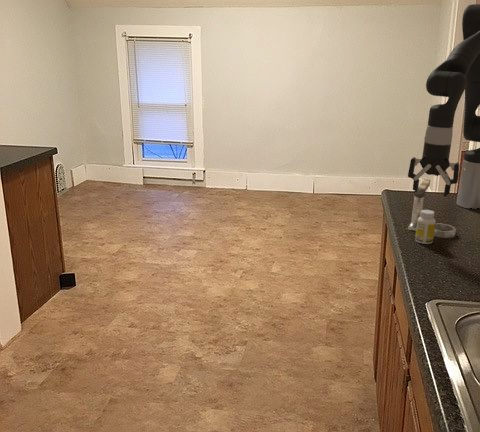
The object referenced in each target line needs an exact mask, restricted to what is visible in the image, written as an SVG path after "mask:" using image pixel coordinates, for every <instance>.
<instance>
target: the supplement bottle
mask: <svg viewBox="0 0 480 432" xmlns="http://www.w3.org/2000/svg"><path fill="white" fill-rule="evenodd" d="M434 217H435V211H434V210H430V209H422V211H421V217H419V218H418V220H417V228H416V231H415V238H414V240H415V242H416V243H419V244H423V245H430V244H432V243H433V242H434V237H435V236H434V231H435V223H436V222H437V221H436V219H435V218H434Z"/></svg>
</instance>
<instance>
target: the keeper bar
mask: <svg viewBox="0 0 480 432" xmlns="http://www.w3.org/2000/svg"><path fill="white" fill-rule="evenodd" d="M430 185H431V179H425V178H424V179H423V180H422V182H421V183H419V187H418V192H417V193H416V192H414V196H417V197H424V198H425V194H426V192H427V190H428V188H429V187H430ZM414 196H413V197H414Z"/></svg>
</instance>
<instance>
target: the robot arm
mask: <svg viewBox="0 0 480 432" xmlns="http://www.w3.org/2000/svg"><path fill="white" fill-rule="evenodd" d="M461 22H462V23H461V26H462V27H461V29H462V30H461V31H462V39H463V40H462V41H461V42H459V43H457V45H455V47H453V49H452V50H451V52H450V53H449V55H448V56H447V58H446V59H445V60H444V61H443V62H442V63H441V64H439V65H438V66H436V67H435V68H434V69H433V70H432V71H431V73H430V74H429V75H428V77H427V79H426V83H425V88H426V91H427V93H428V94H430V95H431V96H433V97H444V98H448V99H447V101H446V102H445V103H443V104H442V103H440V104H434V105H431V107H430V109H429V111H428V120H427V126H426V130H425V134H424V135H425V136H424V140H423V141H424V142H423V151H422V157H421V159H420V158H417V157H412V158H411V159H410V162H409V168H408V171H407V178H410V179H412V180H413V183H412V191H414V193H415V192H416V193H417V192H418V187H419V186H420V178H421V177H422V176H423V175H425V174H426V175H428V176H431V175H432V176H435V177H436V176H437V177H439V176H440V177H441V179H443V181H444V182H445V185H444V191H443V198H445V197H447V196H449V195H450V192H451V187H452V185H456V184H458V182H459V185H458V192H457V197H456V205H457V206H458V207H461V208H464V209H470V208H472V209H471V210H478V209H477V208H479V209H480V147H479V148H475V149H469V150H466V151H465V152H464V154H463V160H462V165H461V172H460V163H459V162H457V161H456V162H455V163H454V162H450V156H451V155H450V153H451V147H452V142H453V132H454V130H453V129H454V121H455V117H456V116H455V115H456V111H457V108H458V106H459V102H460V100H461V98H462V97H463V94H464V101H465V102H464V117H463V129H462V130H463V131H462V132H463V138H464V139H465V140H466V141H469V142H475V143H480V115H477V113H476V112H477V110H478V108H479V107H480V4H479V3H478V4H477V3H476V4H475V3H474V4H469V5H467V6H466V7H465V8H464V11H463V13H462V21H461ZM418 164H420V166H421V167H422V169H420V170H419V172H418V173H416V174H415V167H416V166H418ZM448 168H450V169H451V171H453V178H450V176H449V173H448V172H447V170H448ZM459 176H460V179H459Z"/></svg>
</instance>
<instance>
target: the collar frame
mask: <svg viewBox="0 0 480 432" xmlns="http://www.w3.org/2000/svg"><path fill="white" fill-rule="evenodd" d="M424 199H425V196H424V197H417V196H413V204H412V211H411V219H410V220H411V221H410V223H409V225H408V226H407V230H408V231H413V232H414V231H415V232H416V228H417V220H418V218H419V217H421V211H422V210H424V201H425V200H424ZM456 231H457V228H456V227H454V226H452V225H451V224H447V223H442V222H440V223H435V231H434V237H436V238H441V239H451V238H454V237H455V236H456Z"/></svg>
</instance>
